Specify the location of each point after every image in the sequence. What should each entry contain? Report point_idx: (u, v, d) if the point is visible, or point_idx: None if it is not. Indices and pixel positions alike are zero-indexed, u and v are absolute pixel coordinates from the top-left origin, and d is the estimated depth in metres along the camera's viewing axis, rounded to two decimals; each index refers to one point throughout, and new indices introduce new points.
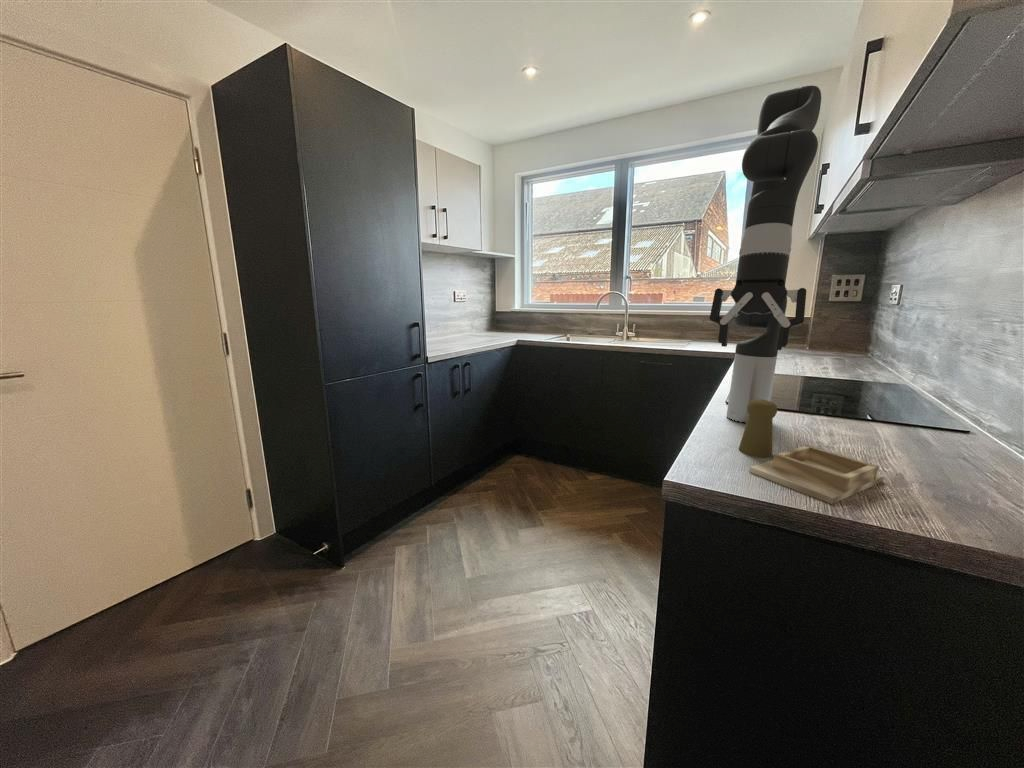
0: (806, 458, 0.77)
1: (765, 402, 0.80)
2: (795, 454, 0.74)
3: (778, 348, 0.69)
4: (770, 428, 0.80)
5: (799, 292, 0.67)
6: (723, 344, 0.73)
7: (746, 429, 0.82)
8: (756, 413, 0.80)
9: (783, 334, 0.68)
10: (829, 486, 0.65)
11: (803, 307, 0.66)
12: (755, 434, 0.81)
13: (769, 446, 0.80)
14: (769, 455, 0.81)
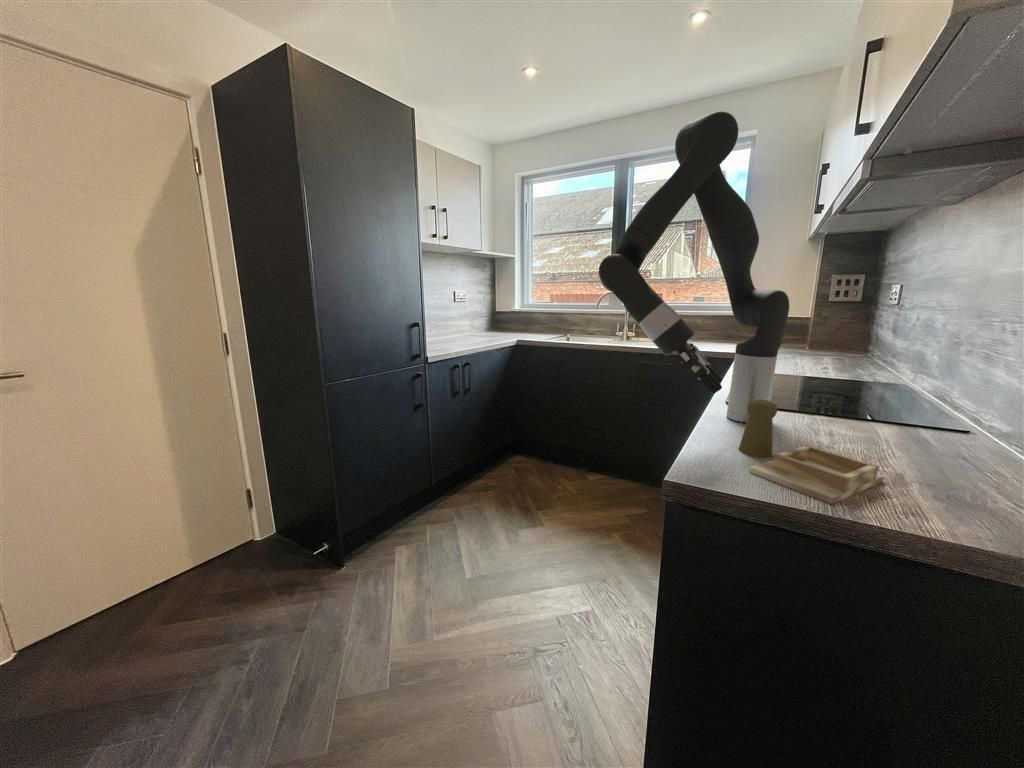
0: (806, 458, 0.77)
1: (765, 402, 0.80)
2: (795, 454, 0.74)
3: (713, 392, 0.81)
4: (770, 428, 0.80)
5: None
6: None
7: (746, 429, 0.82)
8: (756, 413, 0.80)
9: (704, 383, 0.81)
10: (829, 486, 0.65)
11: (687, 368, 0.80)
12: (755, 434, 0.81)
13: (769, 446, 0.80)
14: (769, 455, 0.81)
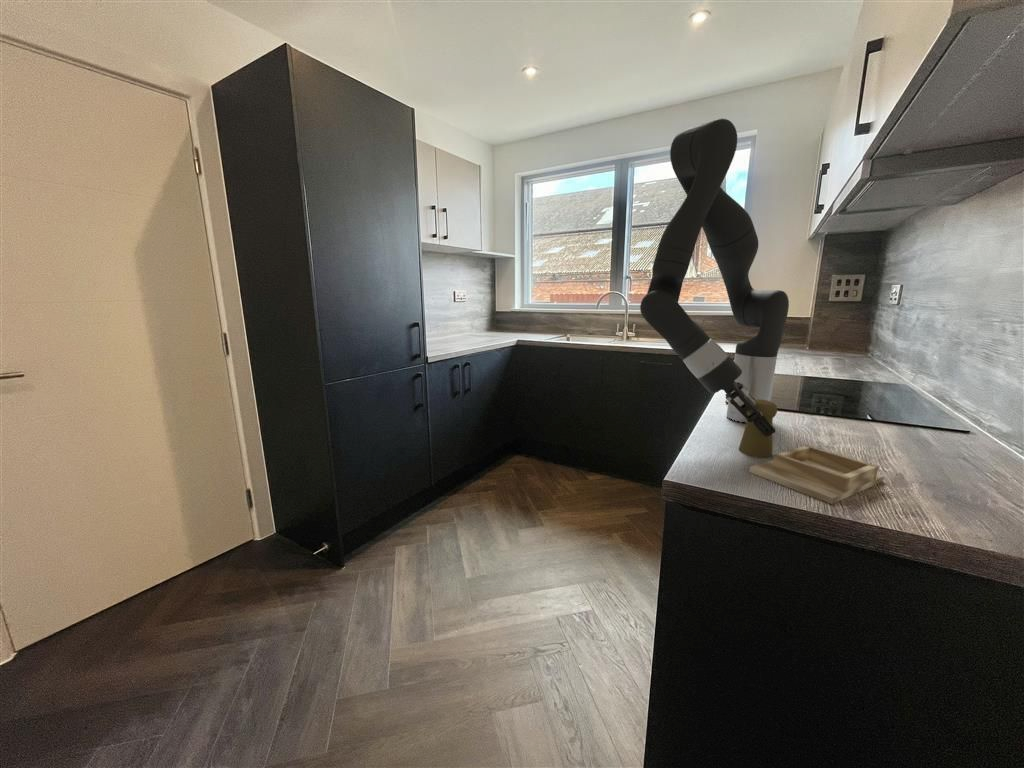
0: (806, 458, 0.77)
1: (765, 402, 0.80)
2: (795, 454, 0.74)
3: (765, 435, 0.79)
4: None
5: None
6: None
7: (746, 429, 0.82)
8: None
9: (757, 426, 0.79)
10: (829, 486, 0.65)
11: (741, 413, 0.78)
12: (755, 434, 0.81)
13: (769, 446, 0.80)
14: (769, 455, 0.81)
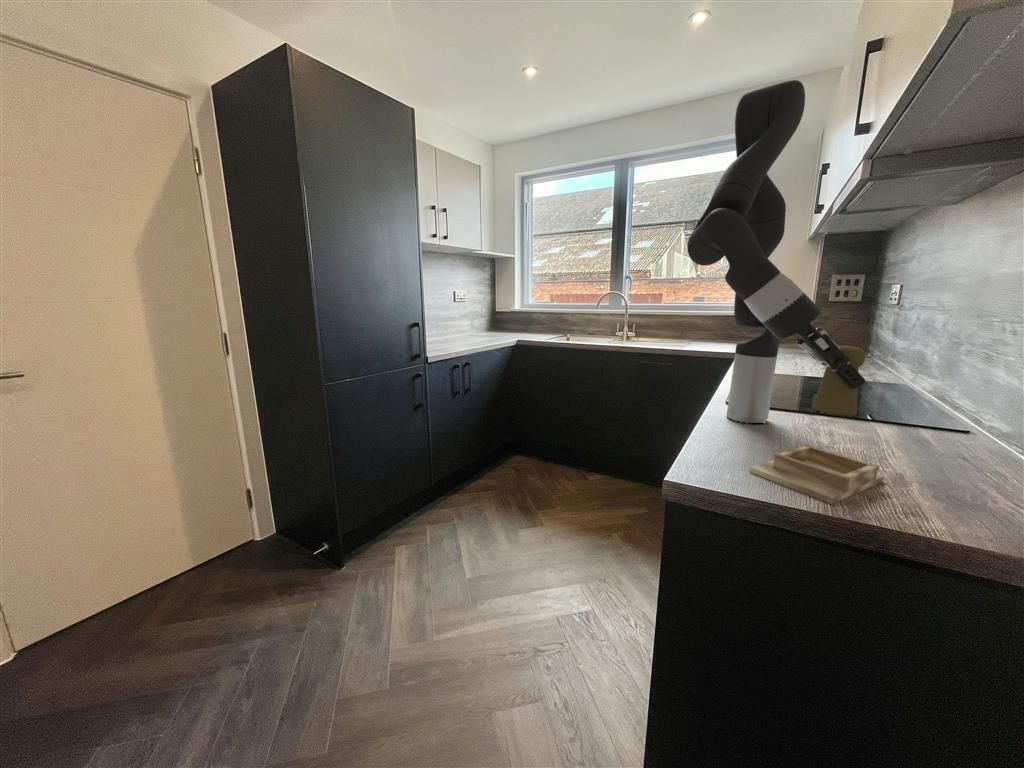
0: (806, 458, 0.77)
1: (850, 347, 0.65)
2: (795, 454, 0.74)
3: None
4: None
5: None
6: None
7: (824, 382, 0.68)
8: None
9: (841, 376, 0.65)
10: (829, 486, 0.65)
11: (823, 359, 0.63)
12: (837, 387, 0.66)
13: (854, 402, 0.66)
14: (854, 413, 0.66)
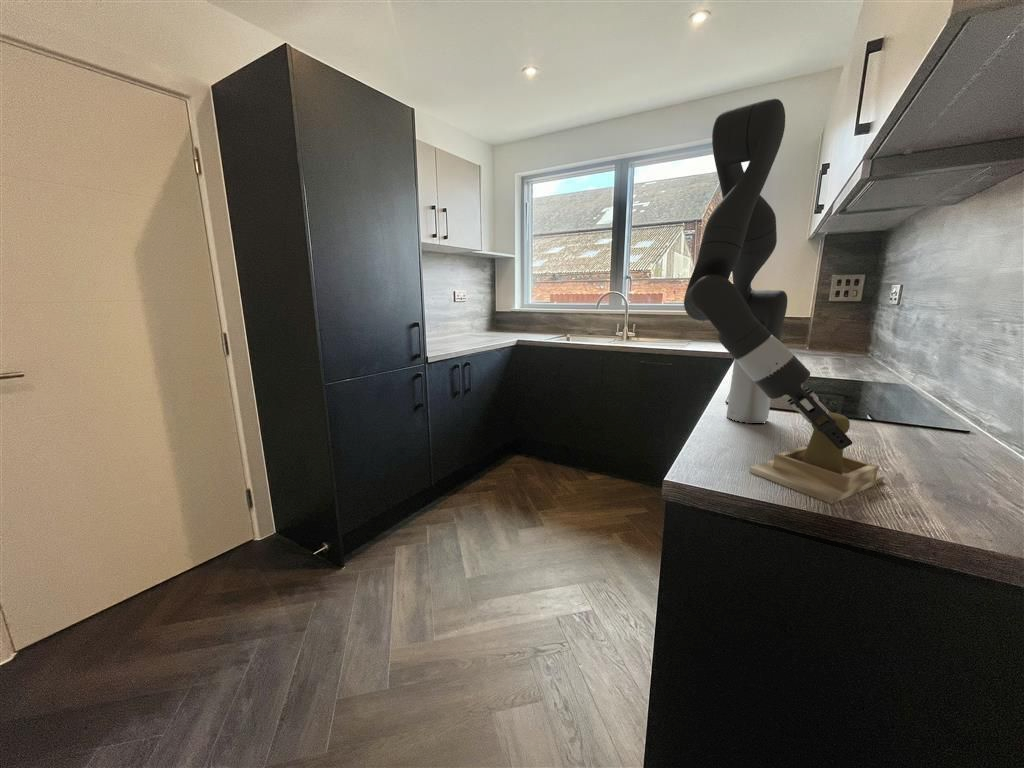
0: None
1: (835, 416, 0.67)
2: (795, 454, 0.74)
3: None
4: None
5: (797, 406, 0.66)
6: None
7: (810, 447, 0.70)
8: None
9: (828, 437, 0.66)
10: (829, 486, 0.65)
11: (809, 419, 0.65)
12: (823, 453, 0.68)
13: (839, 468, 0.68)
14: None
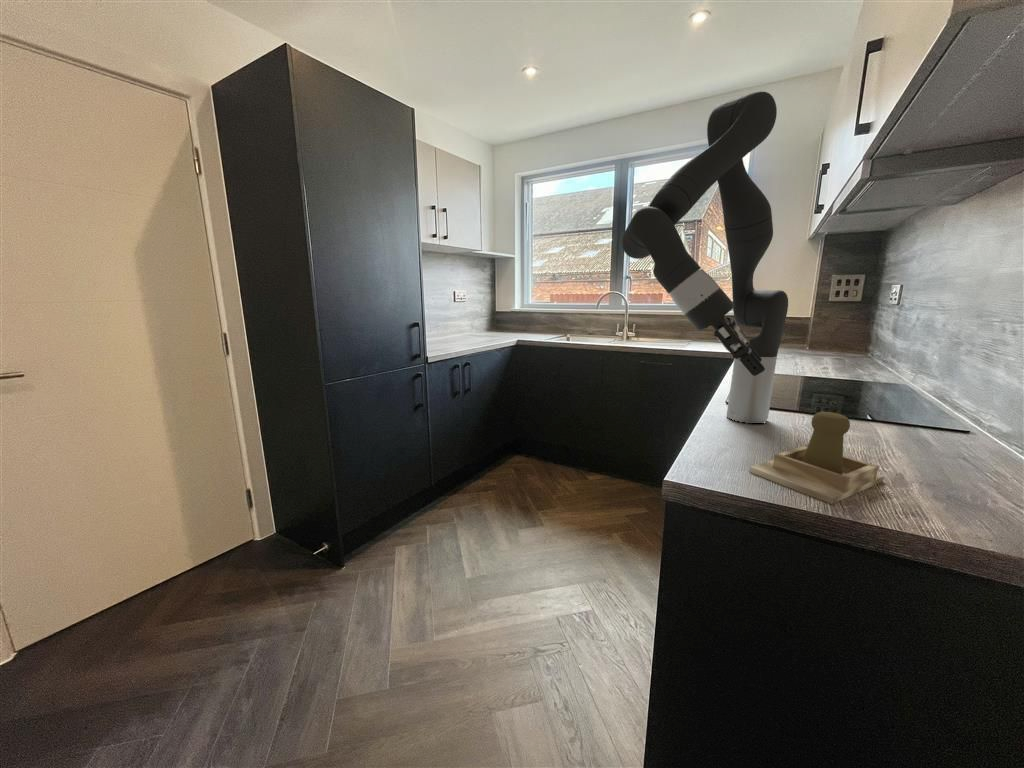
0: None
1: (836, 415, 0.68)
2: (795, 454, 0.74)
3: None
4: (841, 446, 0.68)
5: (716, 335, 0.70)
6: None
7: (811, 447, 0.70)
8: (825, 429, 0.68)
9: (744, 364, 0.70)
10: (829, 486, 0.65)
11: (725, 347, 0.69)
12: (823, 453, 0.68)
13: (840, 468, 0.68)
14: None
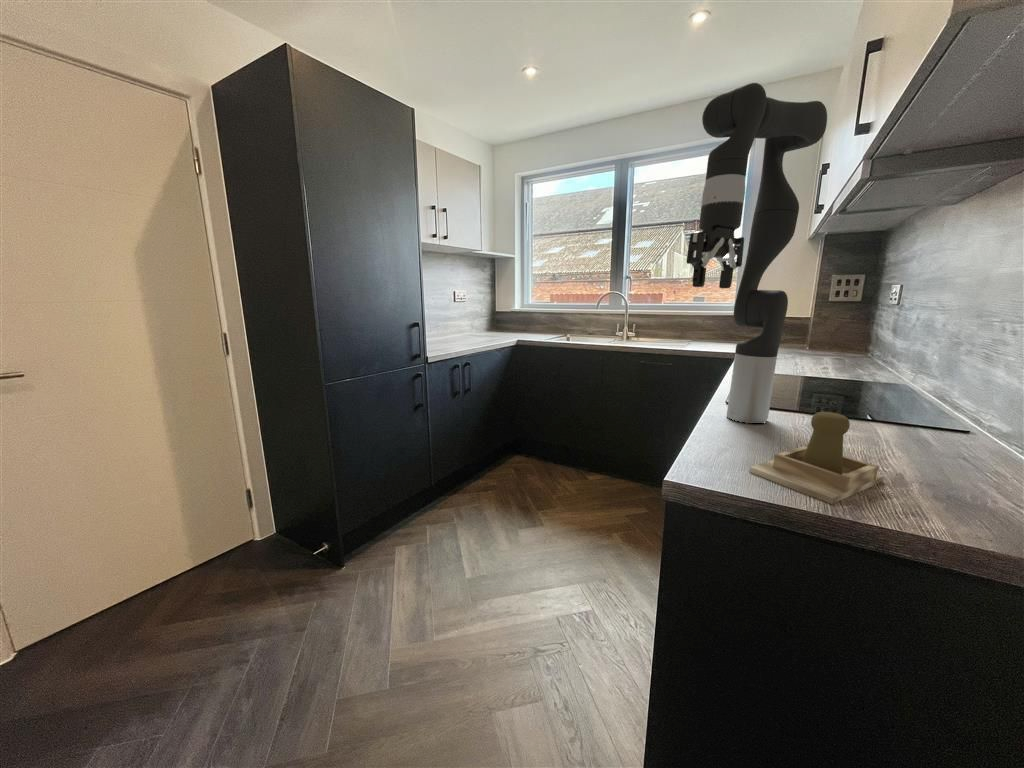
0: None
1: (835, 415, 0.68)
2: (795, 454, 0.74)
3: None
4: (841, 446, 0.68)
5: None
6: (720, 286, 0.86)
7: (810, 447, 0.70)
8: (825, 429, 0.68)
9: None
10: (829, 486, 0.65)
11: None
12: (823, 453, 0.68)
13: (839, 467, 0.68)
14: None
